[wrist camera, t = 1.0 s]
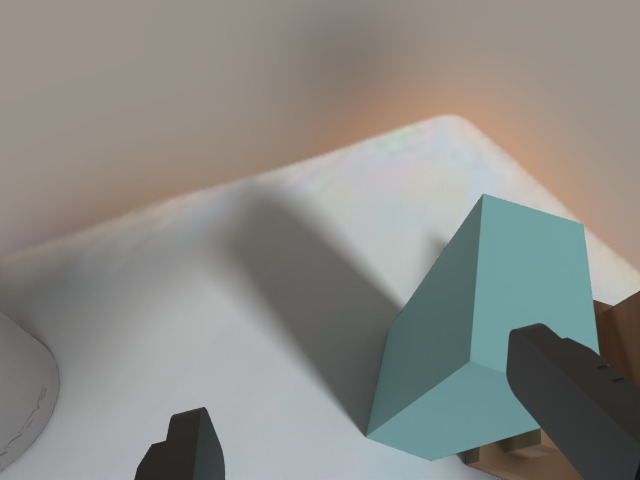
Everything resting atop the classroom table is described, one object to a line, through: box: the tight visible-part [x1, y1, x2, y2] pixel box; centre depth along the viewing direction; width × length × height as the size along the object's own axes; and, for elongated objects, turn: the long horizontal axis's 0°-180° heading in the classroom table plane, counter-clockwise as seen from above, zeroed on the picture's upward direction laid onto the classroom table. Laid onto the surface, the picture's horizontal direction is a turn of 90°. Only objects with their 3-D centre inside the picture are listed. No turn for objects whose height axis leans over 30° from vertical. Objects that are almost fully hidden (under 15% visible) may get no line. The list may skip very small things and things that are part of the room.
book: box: [366, 194, 600, 461], centre depth 22 cm, size 4×8×16 cm, turn 162°
